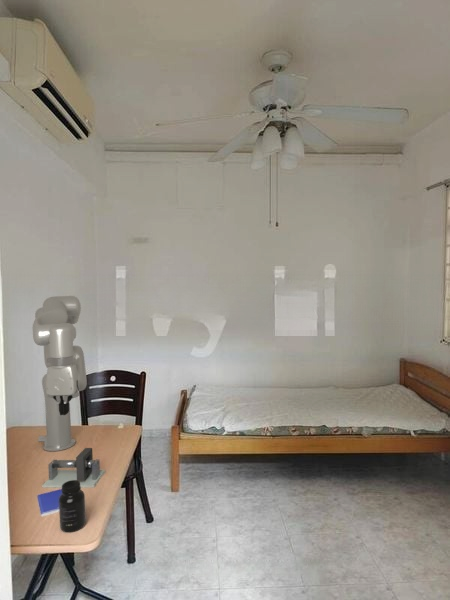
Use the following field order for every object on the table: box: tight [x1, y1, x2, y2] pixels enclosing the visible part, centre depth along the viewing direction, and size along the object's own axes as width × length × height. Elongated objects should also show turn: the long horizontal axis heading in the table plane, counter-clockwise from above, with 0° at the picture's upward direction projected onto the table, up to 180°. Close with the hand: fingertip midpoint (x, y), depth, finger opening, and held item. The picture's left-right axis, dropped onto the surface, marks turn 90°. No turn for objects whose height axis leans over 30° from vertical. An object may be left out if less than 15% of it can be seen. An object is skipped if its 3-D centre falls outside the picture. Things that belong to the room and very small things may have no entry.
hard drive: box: [36, 488, 62, 518], centre depth 126 cm, size 2×8×12 cm
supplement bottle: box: [58, 480, 87, 533], centre depth 113 cm, size 7×7×12 cm
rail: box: [47, 458, 101, 480], centre depth 140 cm, size 16×4×6 cm, turn 87°
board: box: [41, 469, 106, 489], centre depth 141 cm, size 18×11×1 cm, turn 87°
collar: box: [75, 447, 94, 481], centre depth 140 cm, size 2×8×8 cm, turn 177°
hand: (64, 413), depth 140 cm, fingers closed
